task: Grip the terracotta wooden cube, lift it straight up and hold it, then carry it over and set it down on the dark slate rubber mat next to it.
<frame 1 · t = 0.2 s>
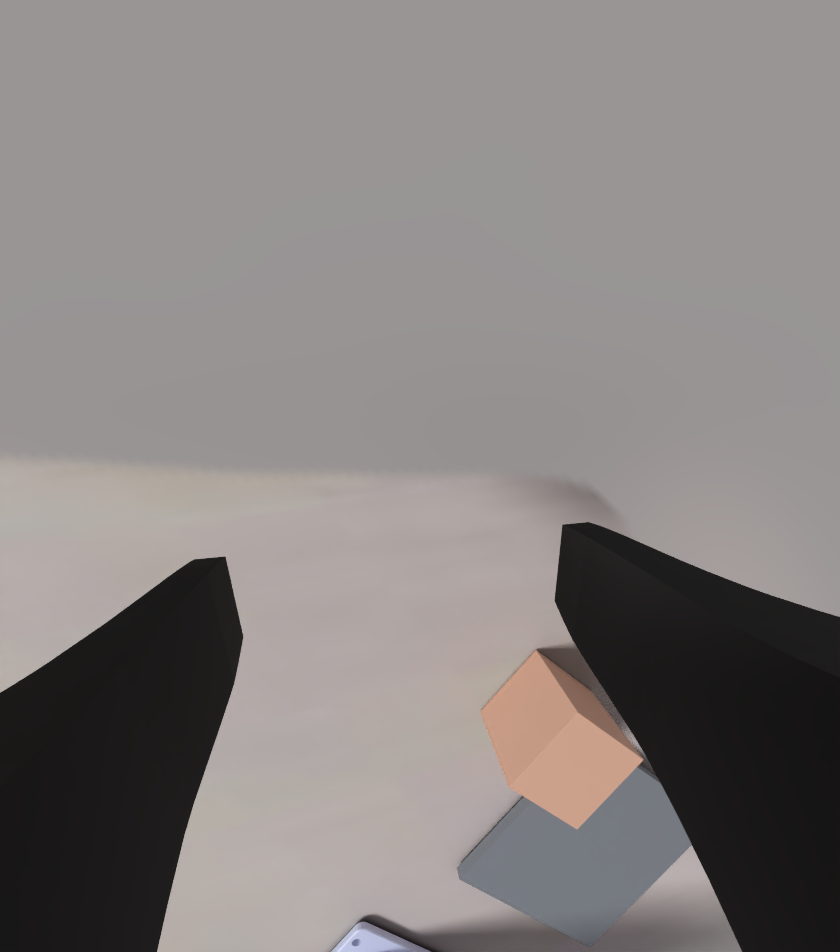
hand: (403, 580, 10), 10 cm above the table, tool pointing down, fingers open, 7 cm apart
cube: (537, 701, 24), on the table
mat: (586, 838, 26), on the table
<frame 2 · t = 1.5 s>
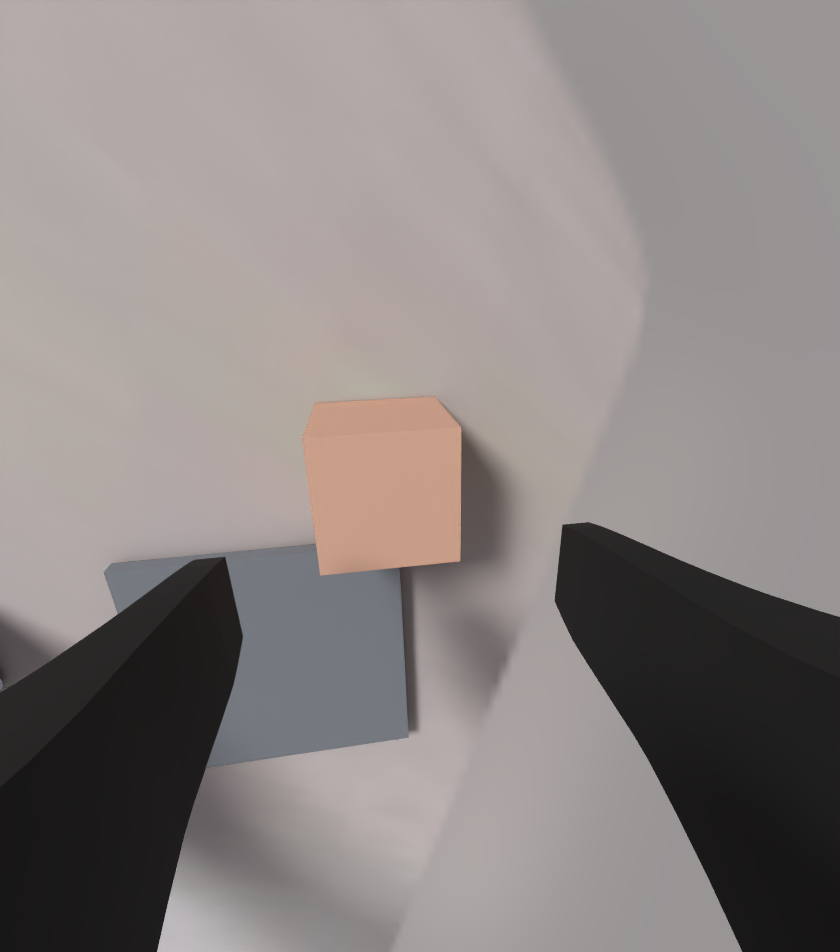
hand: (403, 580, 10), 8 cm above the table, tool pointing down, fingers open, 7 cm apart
cube: (379, 456, 17), on the table
mat: (279, 656, 20), on the table
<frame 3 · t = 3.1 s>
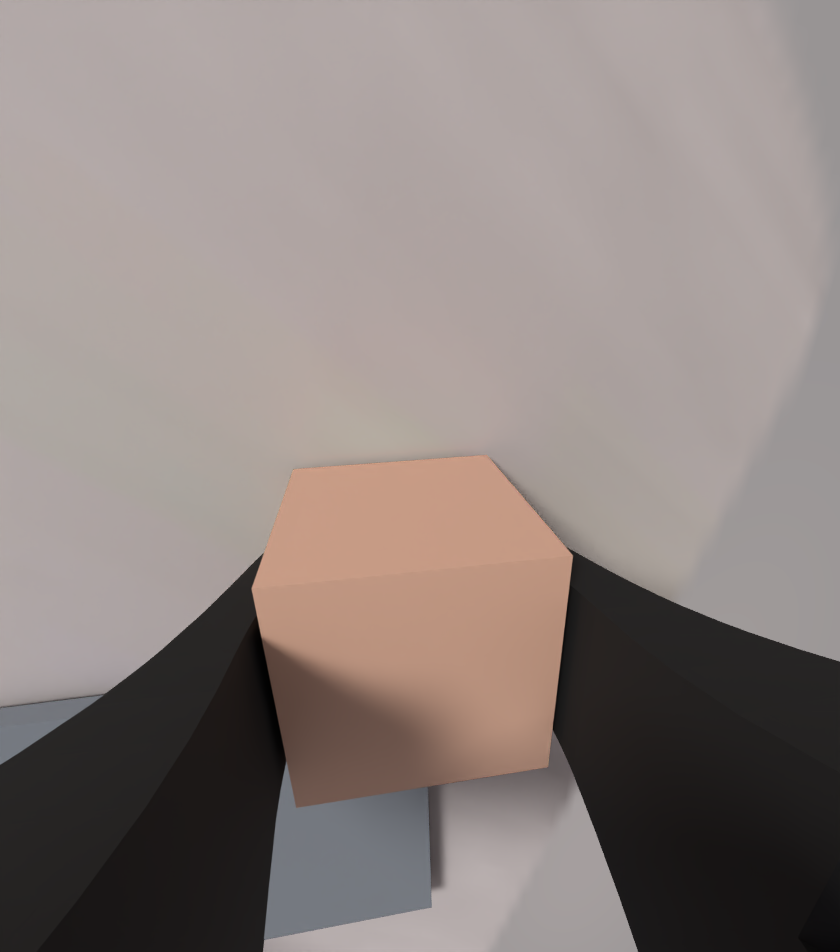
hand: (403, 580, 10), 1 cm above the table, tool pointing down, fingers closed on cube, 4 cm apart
cube: (397, 546, 11), on the table, touching gripper
mat: (248, 816, 14), on the table
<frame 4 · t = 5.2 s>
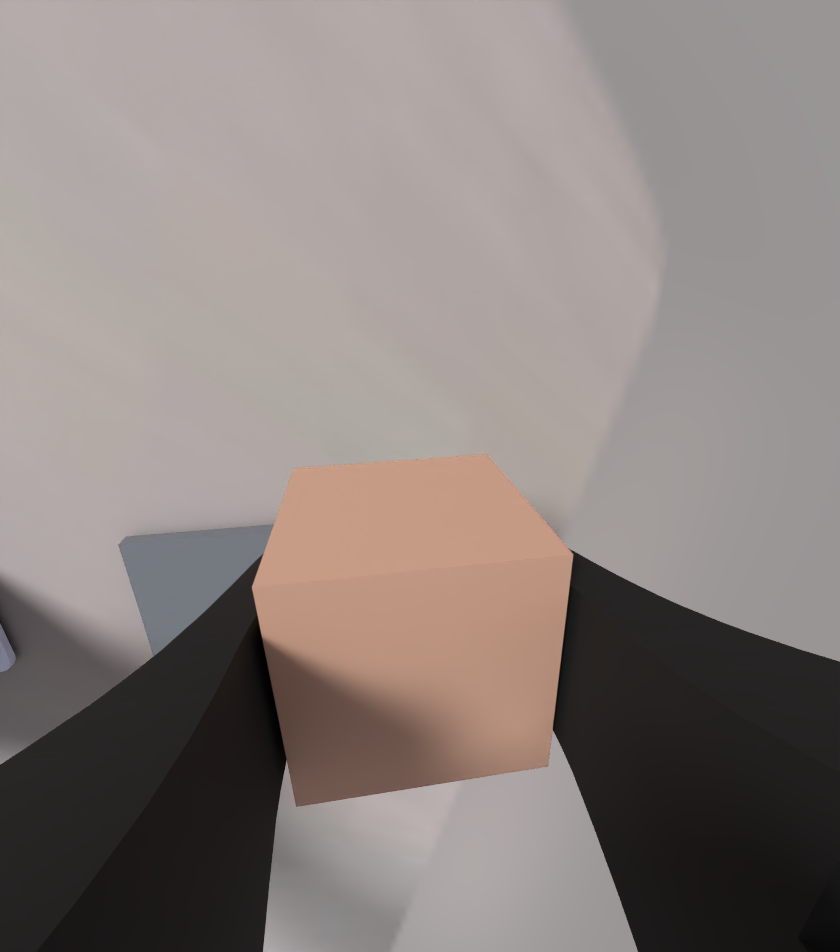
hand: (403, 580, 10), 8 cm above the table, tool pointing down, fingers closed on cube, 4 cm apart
cube: (397, 545, 11), point 7 cm above the table, touching gripper
mat: (291, 634, 20), on the table
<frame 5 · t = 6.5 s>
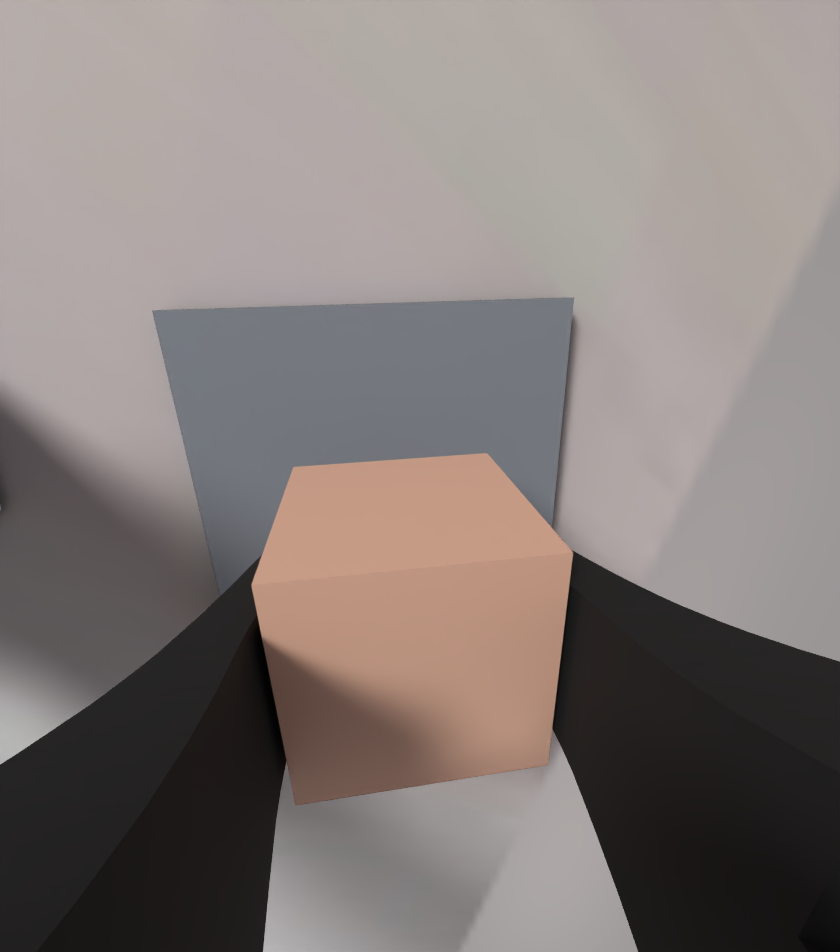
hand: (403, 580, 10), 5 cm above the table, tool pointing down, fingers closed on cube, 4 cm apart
cube: (397, 544, 11), point 4 cm above the table, touching gripper
mat: (385, 487, 14), on the table
when the fingers open (3 cm above the table, at t = 7.6 s): cube drops 1 cm, resting on mat.
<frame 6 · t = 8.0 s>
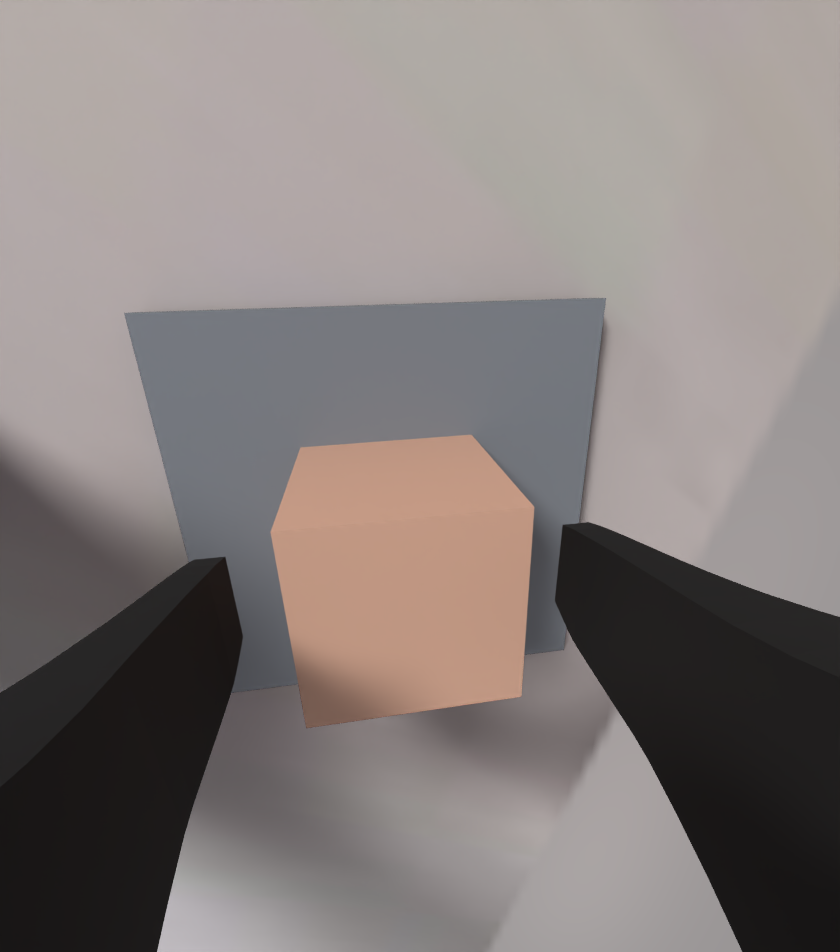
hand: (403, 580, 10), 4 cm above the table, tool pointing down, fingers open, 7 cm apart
cube: (392, 517, 12), point 1 cm above the table, touching mat
mat: (390, 509, 13), on the table
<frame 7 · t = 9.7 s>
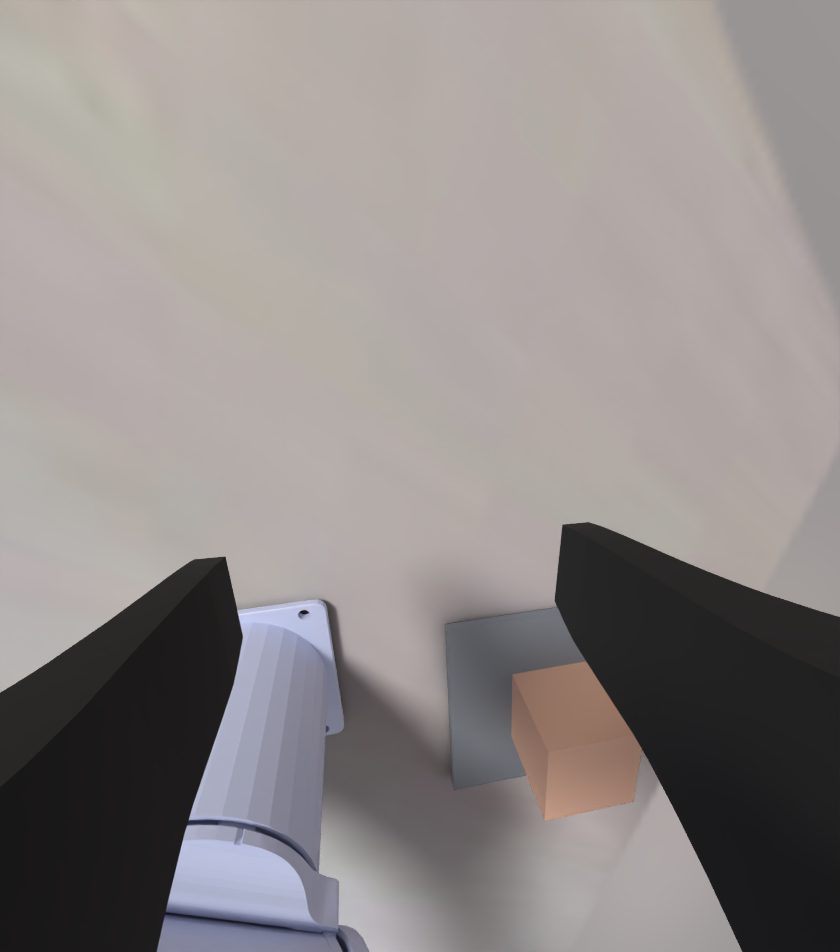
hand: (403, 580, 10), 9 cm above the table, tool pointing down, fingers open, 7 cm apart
cube: (551, 699, 24), point 1 cm above the table, touching mat
mat: (546, 691, 25), on the table
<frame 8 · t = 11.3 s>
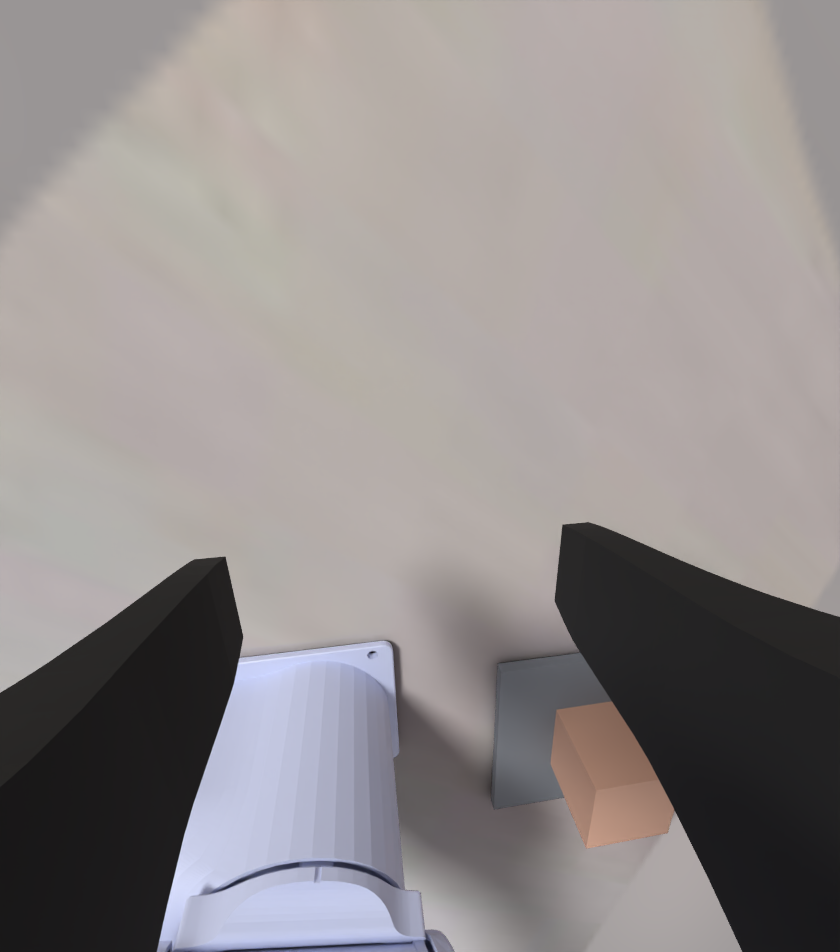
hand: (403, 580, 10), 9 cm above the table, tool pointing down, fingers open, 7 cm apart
cube: (589, 731, 26), point 1 cm above the table, touching mat
mat: (584, 723, 26), on the table
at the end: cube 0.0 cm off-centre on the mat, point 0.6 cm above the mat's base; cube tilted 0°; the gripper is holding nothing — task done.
